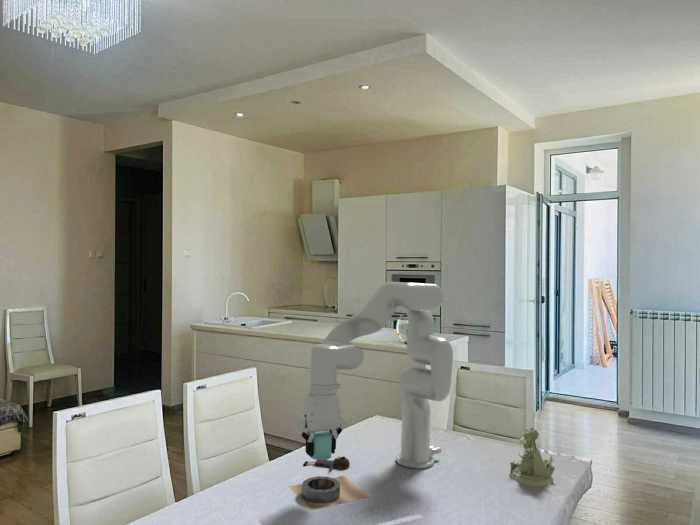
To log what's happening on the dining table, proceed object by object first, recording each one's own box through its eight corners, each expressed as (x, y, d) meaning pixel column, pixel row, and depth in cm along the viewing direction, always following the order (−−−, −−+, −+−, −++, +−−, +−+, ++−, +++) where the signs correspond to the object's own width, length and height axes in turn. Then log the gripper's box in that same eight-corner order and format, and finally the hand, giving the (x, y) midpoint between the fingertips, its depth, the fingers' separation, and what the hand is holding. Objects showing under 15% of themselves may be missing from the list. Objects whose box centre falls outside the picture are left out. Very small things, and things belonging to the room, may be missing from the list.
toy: (298, 478, 165) (345, 479, 162) (297, 463, 165) (344, 464, 162) (310, 461, 179) (354, 462, 176) (309, 447, 179) (353, 448, 176)
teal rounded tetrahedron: (325, 451, 152) (326, 430, 152) (335, 458, 147) (335, 436, 147) (306, 454, 149) (307, 432, 149) (315, 461, 144) (316, 439, 144)
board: (343, 478, 162) (343, 475, 162) (370, 500, 148) (370, 496, 148) (288, 489, 154) (289, 486, 154) (311, 513, 140) (311, 509, 140)
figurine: (562, 478, 166) (563, 430, 166) (545, 491, 157) (546, 440, 157) (519, 465, 176) (520, 420, 176) (500, 477, 166) (501, 429, 166)
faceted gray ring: (329, 484, 156) (329, 474, 156) (346, 498, 146) (346, 487, 146) (296, 491, 151) (296, 480, 151) (311, 506, 141) (311, 495, 141)
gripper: (343, 384, 156) (341, 445, 156) (289, 388, 148) (286, 453, 147) (356, 389, 149) (354, 453, 149) (299, 394, 141) (297, 462, 141)
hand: (320, 453), depth 148 cm, fingers closed on teal rounded tetrahedron, 6 cm apart
